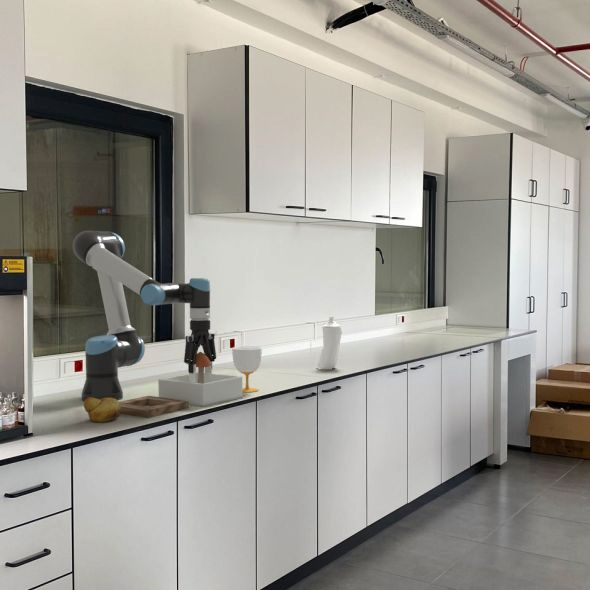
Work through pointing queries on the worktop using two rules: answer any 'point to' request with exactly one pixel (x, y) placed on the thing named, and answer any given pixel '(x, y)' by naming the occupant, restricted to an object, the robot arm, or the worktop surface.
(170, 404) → the board
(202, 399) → the bin
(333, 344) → the spray can
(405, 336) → the worktop surface
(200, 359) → the mushroom
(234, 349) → the cup
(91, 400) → the bread roll
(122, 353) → the robot arm
